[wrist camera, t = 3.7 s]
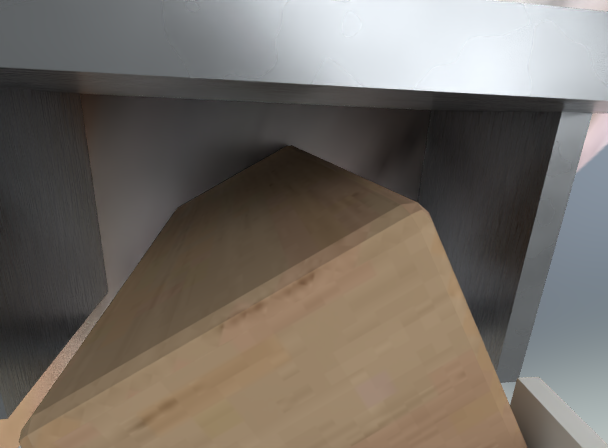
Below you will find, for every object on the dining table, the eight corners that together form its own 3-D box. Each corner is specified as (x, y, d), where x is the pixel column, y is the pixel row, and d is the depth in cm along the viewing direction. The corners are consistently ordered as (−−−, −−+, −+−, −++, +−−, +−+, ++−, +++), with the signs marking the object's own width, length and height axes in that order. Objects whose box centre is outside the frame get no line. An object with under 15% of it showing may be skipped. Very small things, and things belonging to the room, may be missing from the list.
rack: (92, 325, 28) (-226, 757, 9) (50, 67, 22) (-990, -145, 4) (417, 312, 32) (648, 599, 13) (452, 90, 26) (949, 44, 8)
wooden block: (349, 250, 29) (550, 486, 10) (244, 311, 29) (254, 662, 10) (291, 142, 26) (432, 198, 7) (172, 209, 26) (-5, 449, 7)
